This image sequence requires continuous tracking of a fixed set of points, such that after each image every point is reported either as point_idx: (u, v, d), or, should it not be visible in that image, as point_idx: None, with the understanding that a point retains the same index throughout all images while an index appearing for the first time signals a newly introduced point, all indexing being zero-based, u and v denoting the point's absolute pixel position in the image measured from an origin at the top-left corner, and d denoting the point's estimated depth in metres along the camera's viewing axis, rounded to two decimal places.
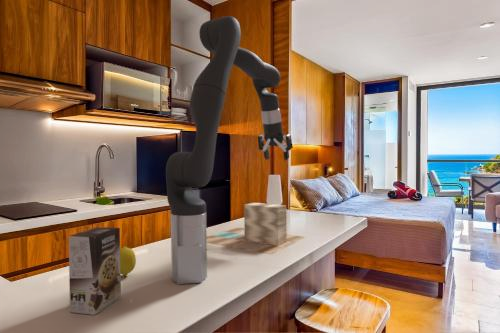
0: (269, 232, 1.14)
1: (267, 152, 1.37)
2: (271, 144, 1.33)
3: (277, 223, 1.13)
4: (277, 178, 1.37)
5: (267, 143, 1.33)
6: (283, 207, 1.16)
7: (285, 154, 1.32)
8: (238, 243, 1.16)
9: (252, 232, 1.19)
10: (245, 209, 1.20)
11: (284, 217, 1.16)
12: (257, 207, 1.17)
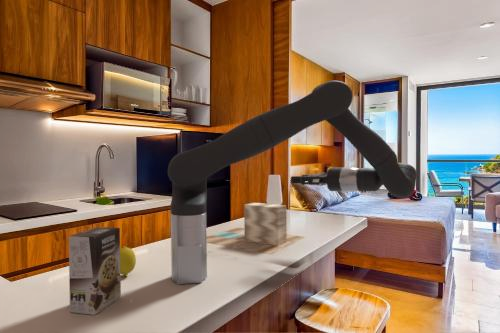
0: (269, 232, 1.14)
1: None
2: None
3: (277, 223, 1.13)
4: (277, 178, 1.37)
5: None
6: (283, 207, 1.16)
7: (298, 177, 1.07)
8: (238, 243, 1.16)
9: (252, 232, 1.19)
10: (245, 209, 1.20)
11: (284, 217, 1.16)
12: (257, 207, 1.17)
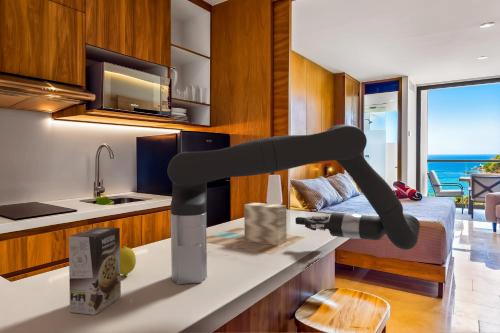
0: (269, 232, 1.14)
1: None
2: None
3: (277, 223, 1.13)
4: (277, 178, 1.37)
5: (320, 216, 1.09)
6: (283, 207, 1.16)
7: (302, 218, 1.10)
8: (238, 243, 1.16)
9: (252, 232, 1.19)
10: (245, 209, 1.20)
11: (284, 217, 1.16)
12: (257, 207, 1.17)
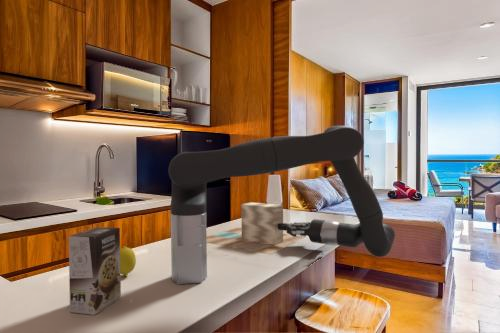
0: (266, 232, 1.15)
1: (286, 227, 1.14)
2: None
3: (273, 223, 1.14)
4: (277, 178, 1.37)
5: (301, 223, 1.12)
6: (280, 207, 1.16)
7: (284, 224, 1.14)
8: (238, 243, 1.16)
9: (249, 232, 1.19)
10: (242, 209, 1.21)
11: (281, 217, 1.17)
12: (254, 207, 1.18)
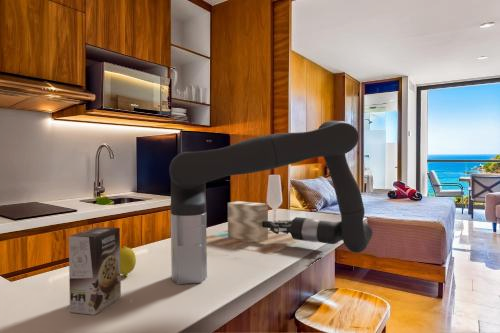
0: (251, 229, 1.19)
1: None
2: None
3: (258, 221, 1.17)
4: (277, 178, 1.37)
5: (284, 221, 1.16)
6: (264, 205, 1.20)
7: (268, 222, 1.17)
8: (238, 243, 1.16)
9: (235, 230, 1.23)
10: (228, 207, 1.24)
11: (265, 215, 1.21)
12: (239, 205, 1.21)
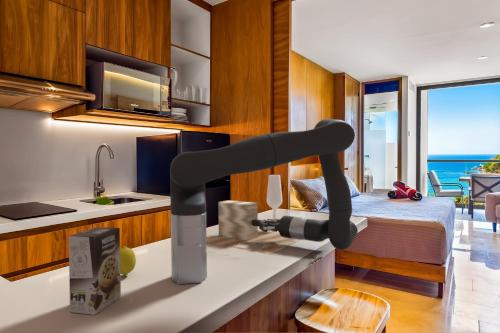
0: (241, 228, 1.21)
1: None
2: None
3: (247, 219, 1.20)
4: (277, 178, 1.37)
5: (273, 219, 1.18)
6: (254, 204, 1.23)
7: (258, 221, 1.20)
8: (238, 243, 1.16)
9: (225, 228, 1.26)
10: (219, 206, 1.27)
11: (255, 214, 1.23)
12: (230, 204, 1.24)
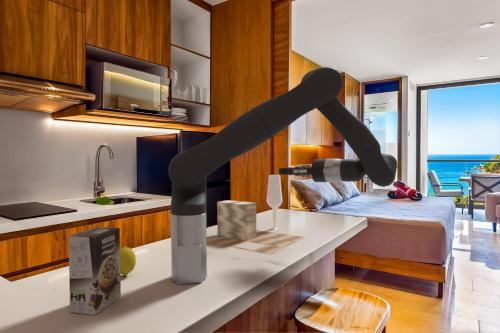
0: (239, 228, 1.22)
1: (287, 171, 1.13)
2: None
3: (246, 219, 1.20)
4: (277, 178, 1.37)
5: None
6: (253, 204, 1.23)
7: (285, 168, 1.13)
8: (238, 243, 1.16)
9: (224, 228, 1.26)
10: (218, 206, 1.27)
11: (254, 214, 1.24)
12: (228, 204, 1.24)
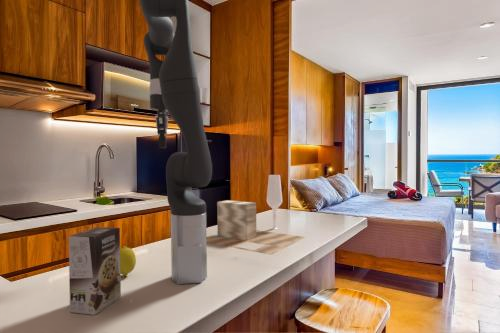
0: (239, 228, 1.22)
1: None
2: None
3: (246, 219, 1.20)
4: (277, 178, 1.37)
5: None
6: (253, 204, 1.23)
7: (159, 139, 1.08)
8: (238, 243, 1.16)
9: (224, 228, 1.26)
10: (218, 206, 1.27)
11: (254, 214, 1.24)
12: (228, 204, 1.24)
